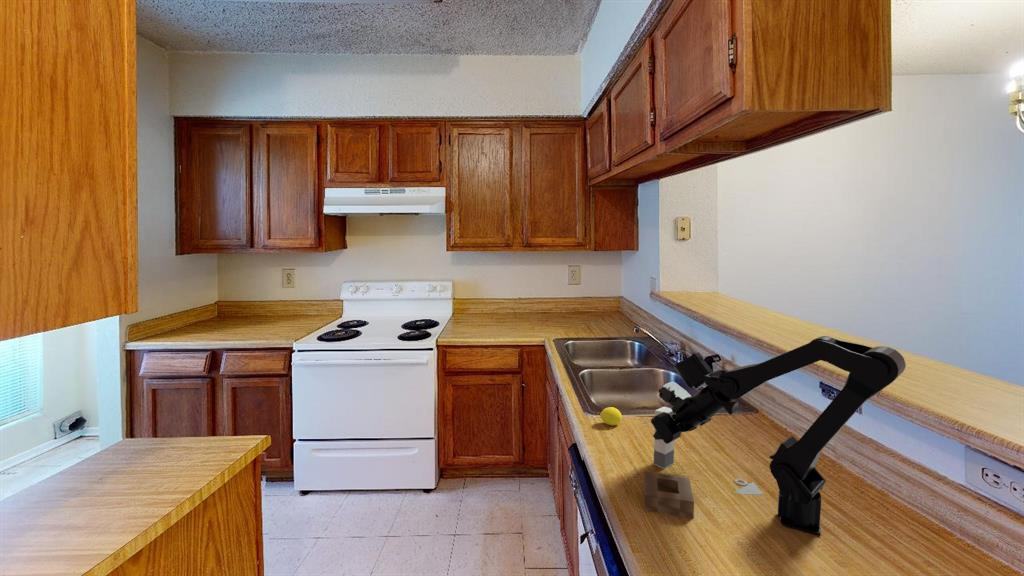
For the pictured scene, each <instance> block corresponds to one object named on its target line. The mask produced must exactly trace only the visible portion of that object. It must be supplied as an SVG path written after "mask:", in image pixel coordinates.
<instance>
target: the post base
mask: <svg viewBox="0 0 1024 576" xmlns="http://www.w3.org/2000/svg"><path fill="white" fill-rule="evenodd" d="M643 472H644V473H643V474H644V475H643V511H647V512H652V513H659V514H663V515H664V514H665V515H669V516H670V515H671V516H675V517H676V516H677V517H683V518H689V519H694V517H695V514H694V513H695V499H694V494H693V488H692V485H691V484H692V483H691V479H690V477H686V476H681V475H674V474H665V473H659V472H651V471H646V470H645V471H643Z"/></svg>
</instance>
